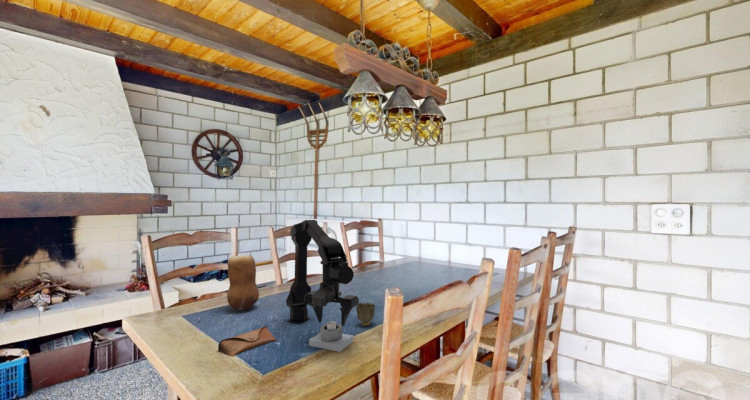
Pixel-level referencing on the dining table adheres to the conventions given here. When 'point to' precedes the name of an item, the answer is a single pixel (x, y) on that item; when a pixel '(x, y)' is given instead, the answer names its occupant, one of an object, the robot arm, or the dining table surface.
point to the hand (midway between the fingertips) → (331, 324)
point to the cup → (365, 313)
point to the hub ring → (331, 333)
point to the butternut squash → (242, 282)
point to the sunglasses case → (246, 341)
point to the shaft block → (334, 345)
